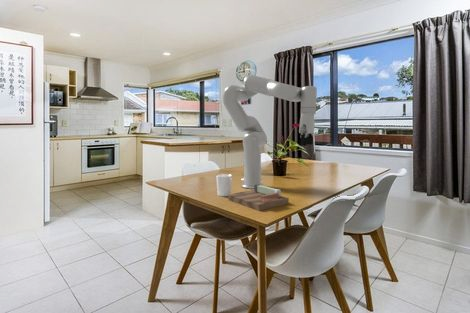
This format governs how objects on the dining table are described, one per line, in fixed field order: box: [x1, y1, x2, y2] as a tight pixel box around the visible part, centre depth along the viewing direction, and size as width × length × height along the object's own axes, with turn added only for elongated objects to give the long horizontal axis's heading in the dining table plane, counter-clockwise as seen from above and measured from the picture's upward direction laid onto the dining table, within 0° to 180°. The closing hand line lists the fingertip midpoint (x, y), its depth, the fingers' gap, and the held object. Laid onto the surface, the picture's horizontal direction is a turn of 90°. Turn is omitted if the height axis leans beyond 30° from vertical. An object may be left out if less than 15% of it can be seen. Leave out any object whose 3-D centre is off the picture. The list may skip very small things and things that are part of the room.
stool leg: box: [253, 184, 282, 197], centre depth 136 cm, size 16×3×3 cm, turn 37°
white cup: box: [215, 173, 233, 197], centre depth 145 cm, size 8×8×10 cm
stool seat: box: [227, 189, 290, 211], centre depth 132 cm, size 22×18×6 cm
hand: (306, 145), depth 147 cm, fingers open, 9 cm apart
